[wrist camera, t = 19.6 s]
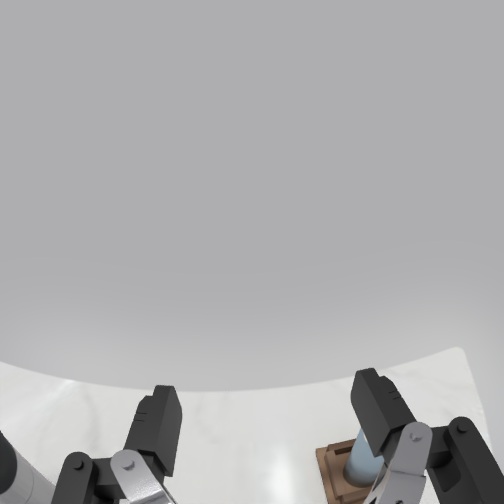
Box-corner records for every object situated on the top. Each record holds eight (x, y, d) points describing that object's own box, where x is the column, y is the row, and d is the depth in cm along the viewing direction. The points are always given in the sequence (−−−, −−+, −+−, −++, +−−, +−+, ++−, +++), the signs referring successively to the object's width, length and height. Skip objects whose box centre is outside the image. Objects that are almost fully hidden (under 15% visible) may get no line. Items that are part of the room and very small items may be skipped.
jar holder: (409, 488, 21) (417, 480, 20) (330, 514, 21) (334, 509, 20) (385, 434, 32) (390, 424, 31) (315, 451, 32) (317, 442, 31)
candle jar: (369, 494, 22) (402, 453, 18) (333, 476, 26) (353, 430, 22) (392, 463, 26) (424, 413, 22) (358, 447, 30) (380, 395, 26)
